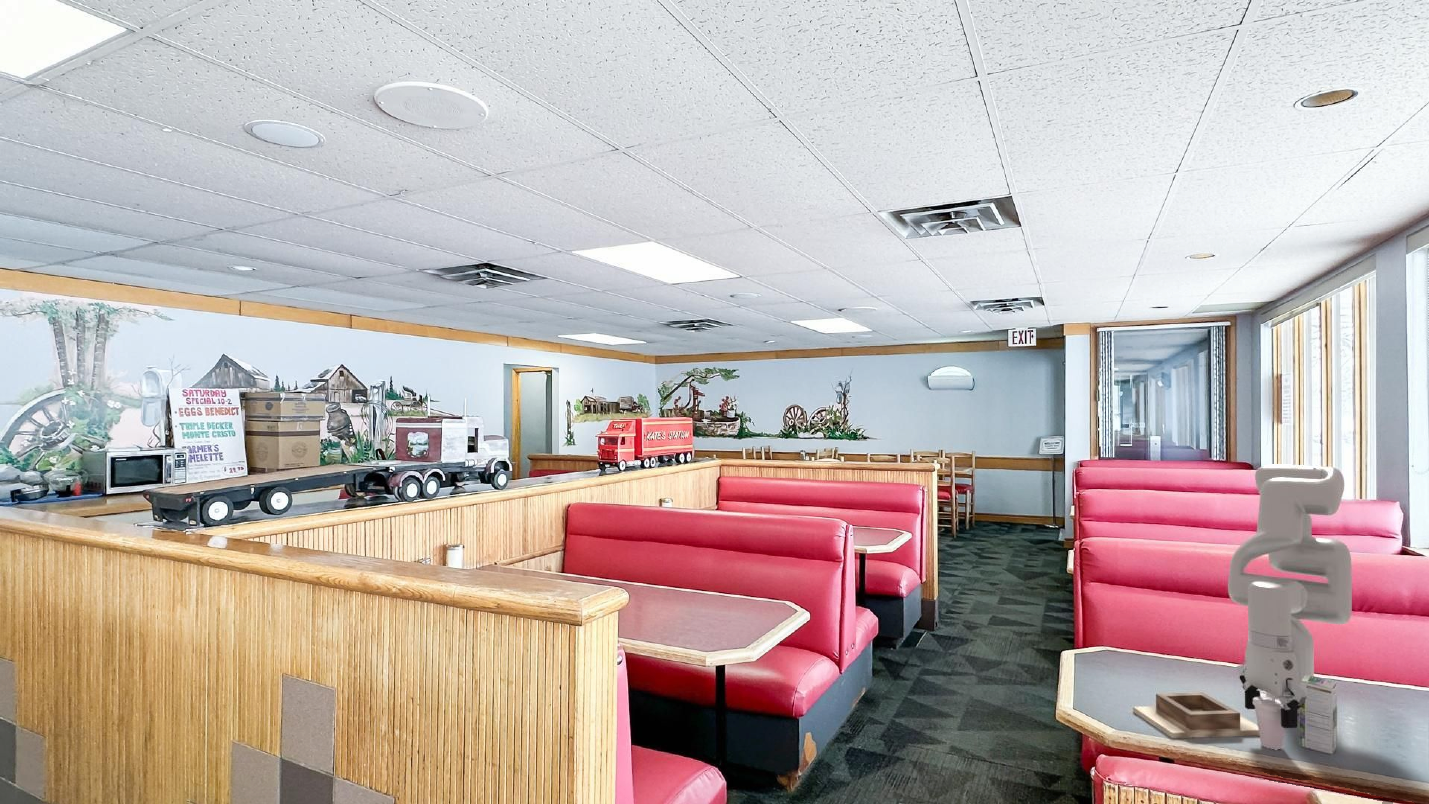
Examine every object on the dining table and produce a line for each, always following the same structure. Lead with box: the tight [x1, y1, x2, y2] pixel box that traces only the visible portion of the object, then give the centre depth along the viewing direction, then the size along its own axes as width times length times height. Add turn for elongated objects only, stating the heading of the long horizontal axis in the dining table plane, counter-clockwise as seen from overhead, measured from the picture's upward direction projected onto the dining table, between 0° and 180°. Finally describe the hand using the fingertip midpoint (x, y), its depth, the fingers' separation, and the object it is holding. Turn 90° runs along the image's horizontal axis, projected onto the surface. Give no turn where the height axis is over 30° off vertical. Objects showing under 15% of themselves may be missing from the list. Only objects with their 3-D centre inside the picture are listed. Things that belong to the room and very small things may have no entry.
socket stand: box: [1132, 691, 1260, 739], centre depth 168 cm, size 22×14×5 cm, turn 93°
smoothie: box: [1253, 695, 1286, 750], centre depth 157 cm, size 6×6×14 cm
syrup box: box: [1299, 675, 1338, 755], centre depth 156 cm, size 6×6×14 cm
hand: (1270, 717), depth 157 cm, fingers open, 9 cm apart
